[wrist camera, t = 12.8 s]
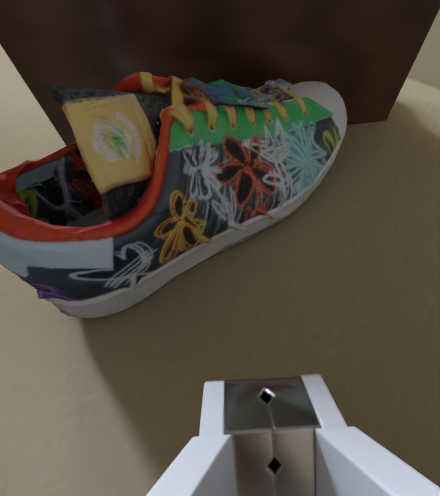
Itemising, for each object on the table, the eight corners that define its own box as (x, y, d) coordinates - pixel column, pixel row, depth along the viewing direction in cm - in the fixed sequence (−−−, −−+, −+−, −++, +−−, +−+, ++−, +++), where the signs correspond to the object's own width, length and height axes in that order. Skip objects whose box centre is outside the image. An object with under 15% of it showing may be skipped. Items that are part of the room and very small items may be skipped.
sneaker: (368, 160, 19) (459, -28, 11) (100, 367, 14) (-129, 295, 5) (289, 116, 23) (314, -54, 15) (48, 266, 17) (-142, 125, 9)
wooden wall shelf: (371, 88, 24) (483, -198, 13) (392, 120, 22) (553, -201, 11) (77, 118, 25) (-59, -125, 14) (64, 153, 23) (-115, -111, 11)
